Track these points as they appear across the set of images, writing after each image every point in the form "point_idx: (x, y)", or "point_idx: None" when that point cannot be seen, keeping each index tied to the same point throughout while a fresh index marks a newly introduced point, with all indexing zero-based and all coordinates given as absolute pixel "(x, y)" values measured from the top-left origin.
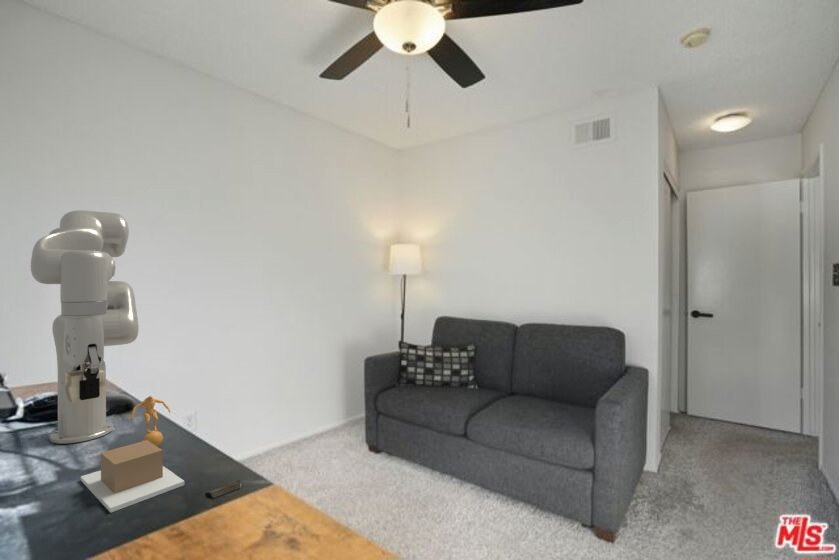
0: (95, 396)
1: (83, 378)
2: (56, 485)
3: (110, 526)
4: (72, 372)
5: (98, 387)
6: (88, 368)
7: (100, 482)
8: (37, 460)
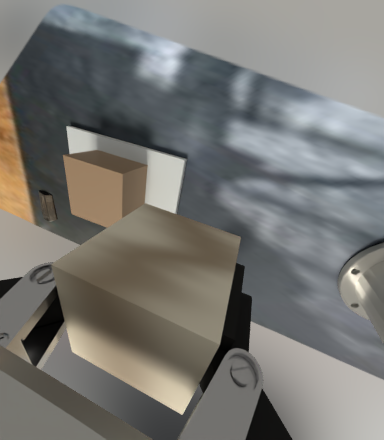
0: None
1: (31, 269)
2: (202, 132)
3: (44, 109)
4: (166, 339)
5: None
6: (195, 406)
7: (141, 160)
8: (361, 173)
